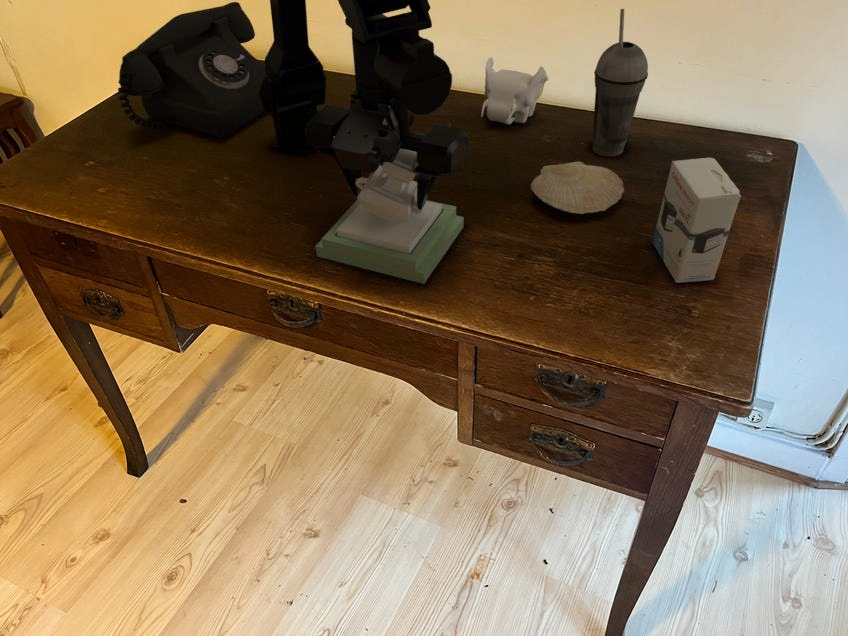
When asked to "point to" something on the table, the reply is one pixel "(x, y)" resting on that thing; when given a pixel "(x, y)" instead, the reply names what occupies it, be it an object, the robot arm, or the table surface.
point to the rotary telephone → (196, 72)
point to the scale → (389, 260)
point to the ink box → (695, 219)
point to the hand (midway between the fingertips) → (388, 200)
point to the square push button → (389, 228)
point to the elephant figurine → (511, 93)
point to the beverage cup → (617, 93)
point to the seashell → (578, 187)
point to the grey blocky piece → (391, 189)
